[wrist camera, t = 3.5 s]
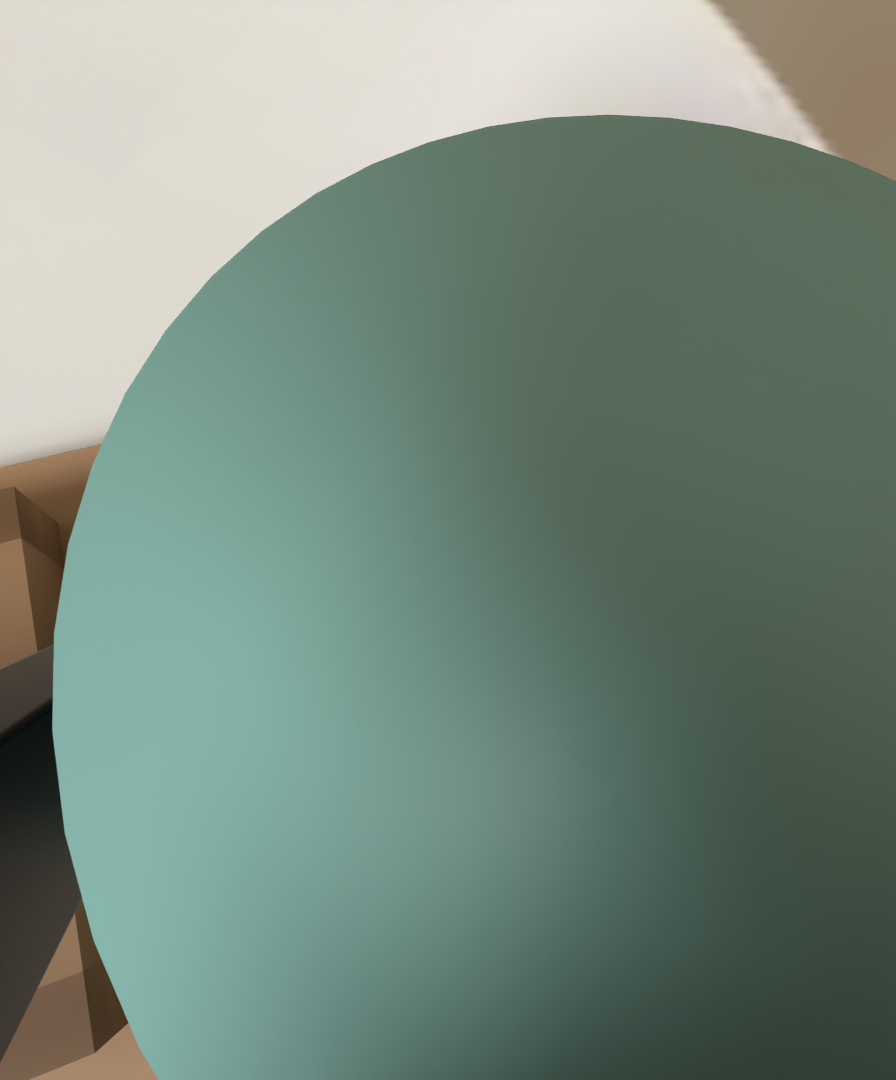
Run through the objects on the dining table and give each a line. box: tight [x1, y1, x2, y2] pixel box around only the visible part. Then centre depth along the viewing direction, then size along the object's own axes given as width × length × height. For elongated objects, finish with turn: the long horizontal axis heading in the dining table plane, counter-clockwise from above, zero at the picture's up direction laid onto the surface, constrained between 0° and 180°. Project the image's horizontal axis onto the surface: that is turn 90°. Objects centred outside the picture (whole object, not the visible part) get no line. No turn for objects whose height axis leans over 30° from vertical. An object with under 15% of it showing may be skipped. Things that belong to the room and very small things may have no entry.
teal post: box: [52, 115, 896, 1080], centre depth 10 cm, size 6×6×14 cm
